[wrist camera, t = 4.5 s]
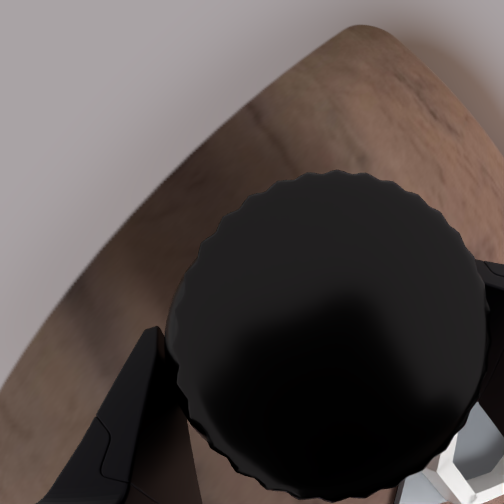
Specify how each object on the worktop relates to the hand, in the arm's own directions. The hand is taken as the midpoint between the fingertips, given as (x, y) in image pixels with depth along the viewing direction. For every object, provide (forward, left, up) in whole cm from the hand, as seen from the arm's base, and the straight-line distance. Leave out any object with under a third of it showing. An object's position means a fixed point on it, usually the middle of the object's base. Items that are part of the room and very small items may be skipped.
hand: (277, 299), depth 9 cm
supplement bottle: (-1, -1, -7) cm, 7 cm away
